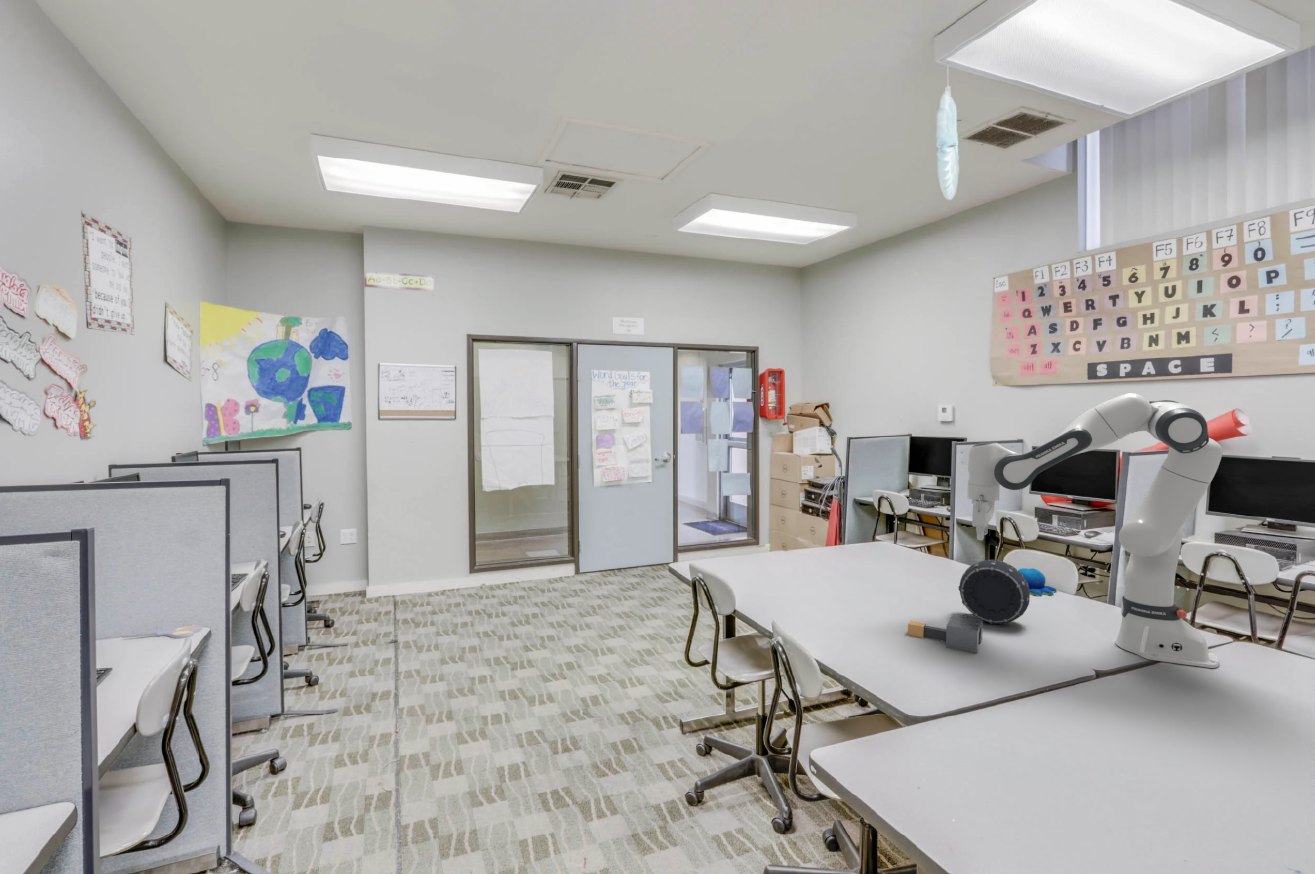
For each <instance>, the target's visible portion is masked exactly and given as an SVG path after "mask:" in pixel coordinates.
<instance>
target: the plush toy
mask: <svg viewBox="0 0 1315 874" xmlns="http://www.w3.org/2000/svg"><path fill="white" fill-rule="evenodd" d="M1017 570H1018V571H1019V572H1020V573H1021V574H1022V575H1023V576H1024V578H1025V579H1026V581H1027V583H1028V586H1029V589H1030V595H1032V596H1036V597H1043V595H1046V596H1051V597H1052V595H1053V596H1054V594H1055V592H1056V593H1057V592H1058V591H1057V589H1056V588H1055V587H1053V586H1049V585H1046V582H1047V580H1046V576H1045V575H1044V574H1043V572H1041V571H1040V570H1038V569H1037V568H1033V567H1032V568H1019V569H1017Z"/></svg>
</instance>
